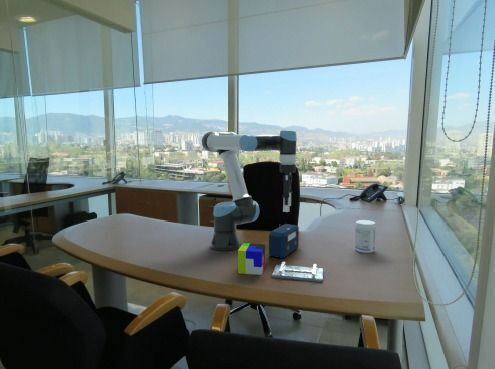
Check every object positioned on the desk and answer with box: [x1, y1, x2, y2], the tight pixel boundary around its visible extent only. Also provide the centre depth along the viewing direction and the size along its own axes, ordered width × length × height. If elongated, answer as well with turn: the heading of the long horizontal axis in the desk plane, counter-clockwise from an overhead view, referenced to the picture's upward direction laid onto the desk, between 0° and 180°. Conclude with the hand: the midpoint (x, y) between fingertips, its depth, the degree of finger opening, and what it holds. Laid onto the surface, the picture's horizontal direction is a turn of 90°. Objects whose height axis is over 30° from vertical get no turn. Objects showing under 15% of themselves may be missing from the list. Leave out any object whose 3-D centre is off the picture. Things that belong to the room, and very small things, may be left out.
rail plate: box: [271, 261, 324, 283], centre depth 132 cm, size 20×11×3 cm, turn 76°
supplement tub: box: [354, 219, 377, 254], centre depth 159 cm, size 10×10×15 cm
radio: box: [268, 223, 300, 259], centre depth 158 cm, size 21×9×20 cm, turn 148°
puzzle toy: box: [237, 242, 266, 276], centre depth 137 cm, size 10×10×10 cm
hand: (287, 208), depth 150 cm, fingers open, 13 cm apart
